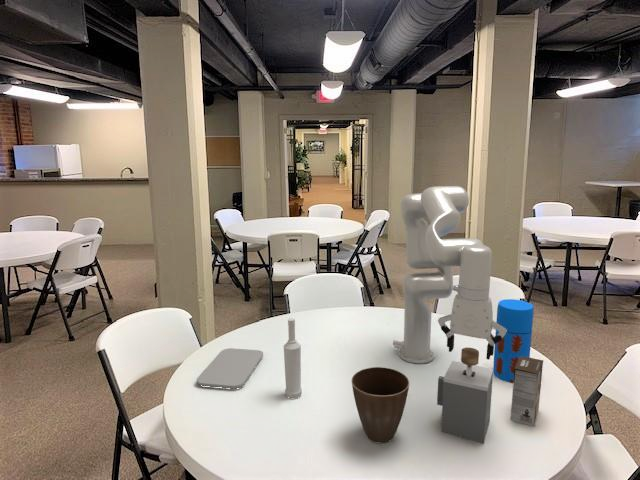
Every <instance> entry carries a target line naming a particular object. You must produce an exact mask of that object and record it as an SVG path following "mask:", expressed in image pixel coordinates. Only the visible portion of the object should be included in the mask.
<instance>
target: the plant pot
mask: <svg viewBox="0 0 640 480" xmlns="http://www.w3.org/2000/svg"><path fill="white" fill-rule="evenodd" d="M351 387H352V393H353V397H354V402H355V406H356V409H357V413H358V417H359V420H360V422H361V426H362V428H363V430H364V433H365V436H366V437H367V439H368V440H369V441H371V442H372V443H377V444H387V443H389V442H391V441H392V440H393V439H394V438H395V435H396V434H397V431H398V428H399V426H400V423H401V419H402V417H403V415H404V411H405V408H406V404H407V403H406V402H407V398H408V394H409V387H410V381H409V378H408V377H407V376H406V375H405V374H404V373H402V372H400V371H399V370H396V369H395V368H390V367H389V368H388V367H381V366H375V367H373V366H372V367H368V368H367V367H366V368H363V369H361V370H358V371H357V372H356V373H354V374H353V376H352V377H351Z"/></svg>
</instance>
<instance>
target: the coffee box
mask: <svg viewBox="0 0 640 480" xmlns="http://www.w3.org/2000/svg"><path fill="white" fill-rule="evenodd" d="M543 365H544V360H543V359H538V358H533V357H530V358H529V357H523V356H520V357H519V359H518V361H517V364H516V366H515V368H514V381H513V383H512V397H511V409H510V421H514V422H517V423H519V424H520V423H521V424H525V425H528V426H531V427H534V426H535V425H536V420H537V417H538V414H539V411H540V410H539V409H540V400H541V399H540V398H541V388H542V380H543V379H542V377H543V368H544V367H543Z"/></svg>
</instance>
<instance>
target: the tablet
mask: <svg viewBox="0 0 640 480" xmlns="http://www.w3.org/2000/svg"><path fill="white" fill-rule="evenodd" d="M262 358H264V351H262V350H259V349H245V348H244V349H243V348H225V349H223V350H221V351H220V352H218V354H217V355H216V357H214V359H213V360H211V362H210V363H209V364H208V366H206V367H205V369H204V370H203V371H202V372H201V373H200V375H199V376H198V377H197V378H196V382H197V384H200V385H202V386H210V387H222V388H230V389H237V388H240V387H242V386H243V385H244V386H245V384H246V383H247V381H248V380H249V378H250V377H249V376H251V375H252V374H253V372H254V371H255V369H256V368H257V366H258V365H259V363H260V362H261V360H262ZM259 361H260V362H259ZM257 364H258V365H257ZM255 367H256V368H255ZM253 370H254V371H253ZM251 373H252V374H251ZM247 379H248V380H247ZM245 382H246V383H245ZM200 385H199V386H200ZM244 386H243V387H244ZM243 387H242V388H243ZM240 389H241V388H240Z"/></svg>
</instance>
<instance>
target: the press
mask: <svg viewBox="0 0 640 480" xmlns="http://www.w3.org/2000/svg"><path fill="white" fill-rule="evenodd" d="M466 368H467V365H466V364H464V363H462V362H461V361H455V360H452V361H451V362H450V364H449V366H448V368H447V370H446V373H445V374H444V376H443V375H441V376H440V375H439V376H438V378H437V397H436V406H440V407H441V426H440V428H441V429H440V433H443V434H446V435H449V436H453V437H458V438H460V439H464V440H466V441H467V440H468V441H470V442H474V443H479V444H482V445H484V444H485V441H486V437H487V432H488V430H489V426H490V425H489V424H490V422H491V421H490V420H491V410H492V409H491V408H492V407H491V406H492V396H493V395H492V394H493V380H494V368H492V367H491V368H490V367H485V366H482V365H473V366H472V377H471V376H466Z"/></svg>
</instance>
